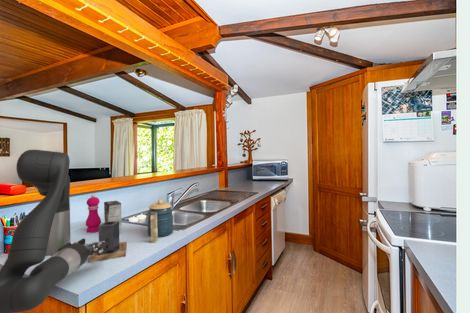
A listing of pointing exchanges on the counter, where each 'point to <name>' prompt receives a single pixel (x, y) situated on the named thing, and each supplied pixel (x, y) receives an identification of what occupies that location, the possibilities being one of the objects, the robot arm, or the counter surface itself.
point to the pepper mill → (93, 214)
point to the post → (154, 227)
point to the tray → (110, 254)
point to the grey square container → (110, 235)
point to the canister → (161, 218)
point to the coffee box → (113, 212)
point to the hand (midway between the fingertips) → (96, 240)
